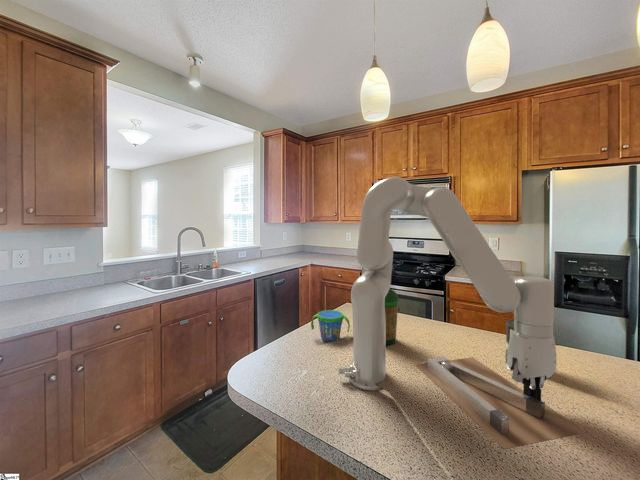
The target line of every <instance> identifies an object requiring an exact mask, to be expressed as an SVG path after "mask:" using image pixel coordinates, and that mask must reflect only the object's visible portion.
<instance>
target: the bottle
mask: <svg viewBox="0 0 640 480" xmlns="http://www.w3.org/2000/svg"><path fill="white" fill-rule="evenodd" d="M398 310H399V295H398V293H397V292H396V291H395V290H393V289H391V288H390V289H389V291H388V293H387V295H386V297H385V319H386V347H387V346H392V345H395V344H396V341H397V325H398Z"/></svg>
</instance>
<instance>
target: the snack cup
mask: <svg viewBox="0 0 640 480" xmlns="http://www.w3.org/2000/svg"><path fill="white" fill-rule="evenodd" d="M315 318H317V320H318V328H319V332H320V338H321V339H322V340H323V341H324V342H335V341H338V340H340V337H341V331H342V325H343V320H345V321H346V323H347V333H349V332H350V326H351V325H350V320H349V319H348V317H347V316H346V315H345V314H344V313H343V312H341V311H338V310H334V309H327V310H320V311H318V312H317V313H316V314H315V315H313V317H312V319H311V322H310V328H311V330H313V331H314V329H315V326H314V319H315Z"/></svg>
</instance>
